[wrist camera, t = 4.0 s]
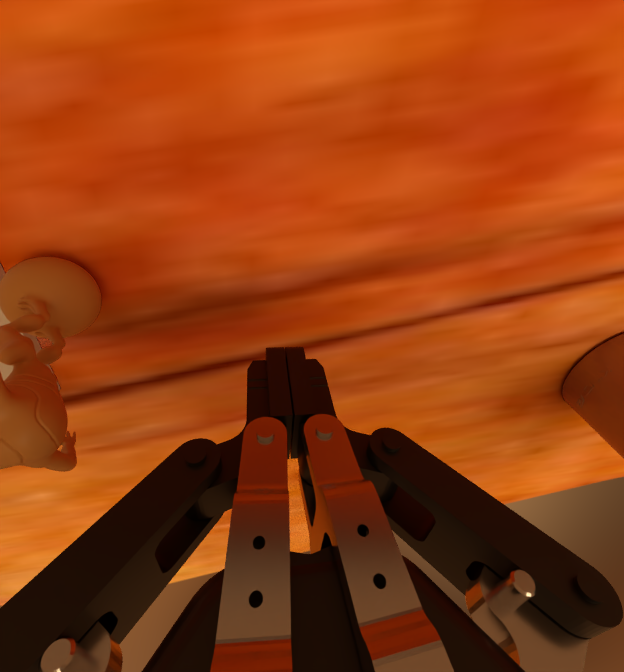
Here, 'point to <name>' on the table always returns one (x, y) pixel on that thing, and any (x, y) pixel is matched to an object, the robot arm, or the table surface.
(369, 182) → the table surface
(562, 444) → the table surface
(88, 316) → the figurine
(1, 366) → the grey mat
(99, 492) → the table surface
